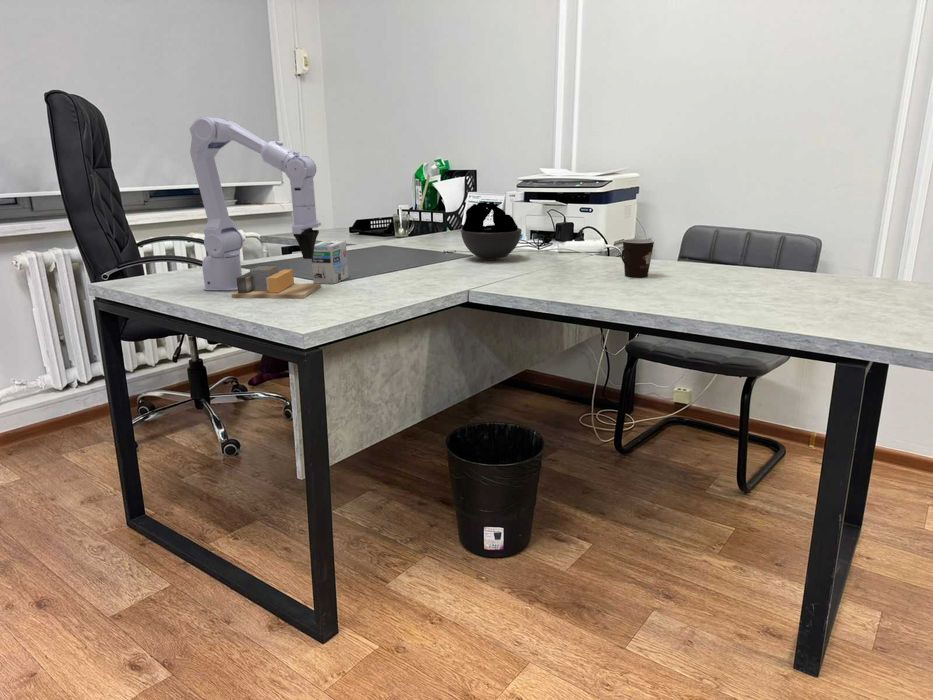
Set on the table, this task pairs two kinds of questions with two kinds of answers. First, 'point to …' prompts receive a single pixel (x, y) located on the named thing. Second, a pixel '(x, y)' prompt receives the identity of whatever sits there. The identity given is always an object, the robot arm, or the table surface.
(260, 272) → the steel block
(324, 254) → the light bulb box
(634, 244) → the coffee mug
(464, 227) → the coal bowl
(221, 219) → the robot arm
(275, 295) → the vise
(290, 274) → the block
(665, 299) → the table surface
